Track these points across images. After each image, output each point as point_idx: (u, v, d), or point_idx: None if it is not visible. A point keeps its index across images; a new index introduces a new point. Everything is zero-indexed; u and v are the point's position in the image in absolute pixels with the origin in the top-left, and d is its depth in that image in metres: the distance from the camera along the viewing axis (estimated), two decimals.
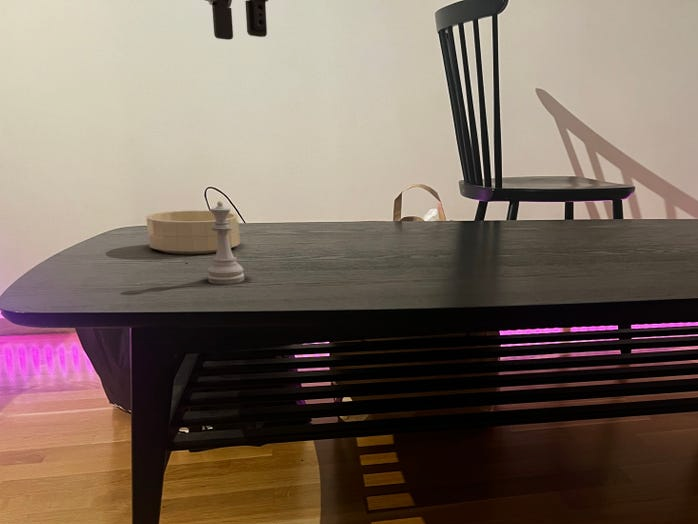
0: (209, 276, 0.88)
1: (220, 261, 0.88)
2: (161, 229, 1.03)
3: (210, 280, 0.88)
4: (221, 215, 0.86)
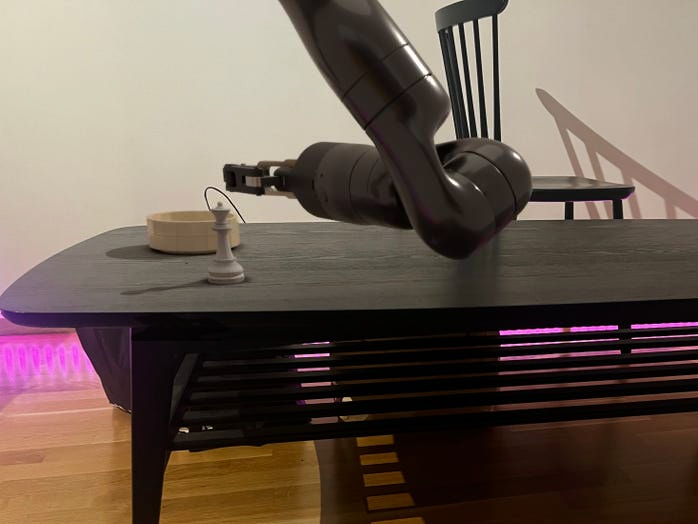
0: (209, 276, 0.88)
1: (220, 261, 0.88)
2: (161, 229, 1.03)
3: (210, 280, 0.88)
4: (221, 215, 0.86)
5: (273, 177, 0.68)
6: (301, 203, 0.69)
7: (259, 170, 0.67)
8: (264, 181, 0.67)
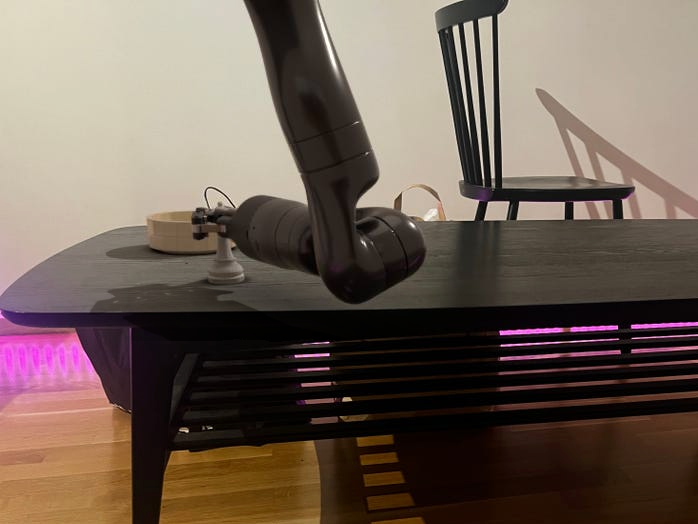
0: (209, 276, 0.88)
1: (220, 261, 0.88)
2: (161, 229, 1.03)
3: (210, 280, 0.88)
4: None
5: (211, 225, 0.79)
6: (239, 248, 0.79)
7: (195, 219, 0.78)
8: (201, 228, 0.79)
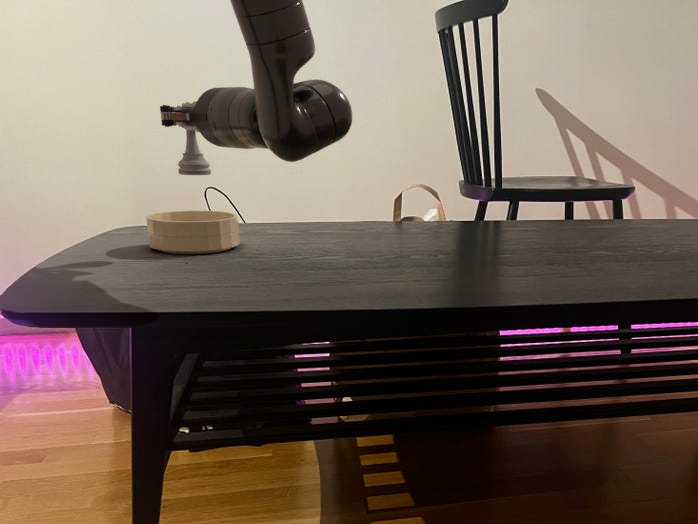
0: (179, 169, 1.01)
1: (189, 155, 1.00)
2: (161, 229, 1.03)
3: (180, 172, 1.01)
4: None
5: (177, 113, 0.92)
6: (201, 133, 0.92)
7: (163, 107, 0.91)
8: (168, 115, 0.91)
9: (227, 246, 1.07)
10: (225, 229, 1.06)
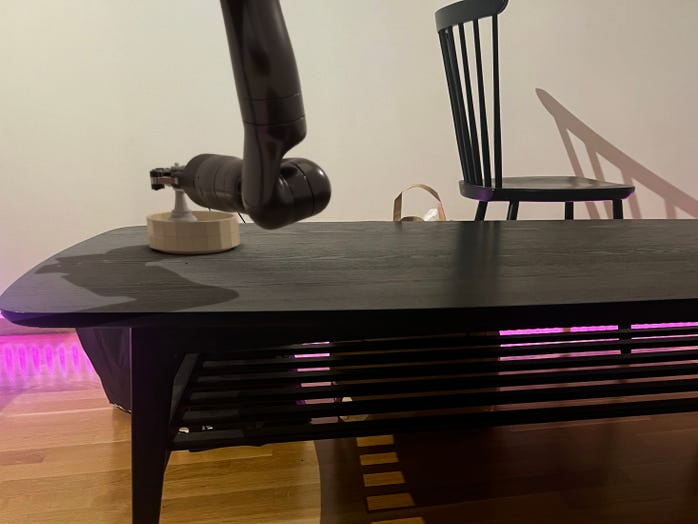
0: None
1: (177, 212, 1.05)
2: (161, 229, 1.03)
3: None
4: None
5: (166, 178, 0.97)
6: (189, 197, 0.97)
7: (153, 172, 0.96)
8: (157, 180, 0.96)
9: (227, 246, 1.07)
10: (225, 229, 1.06)
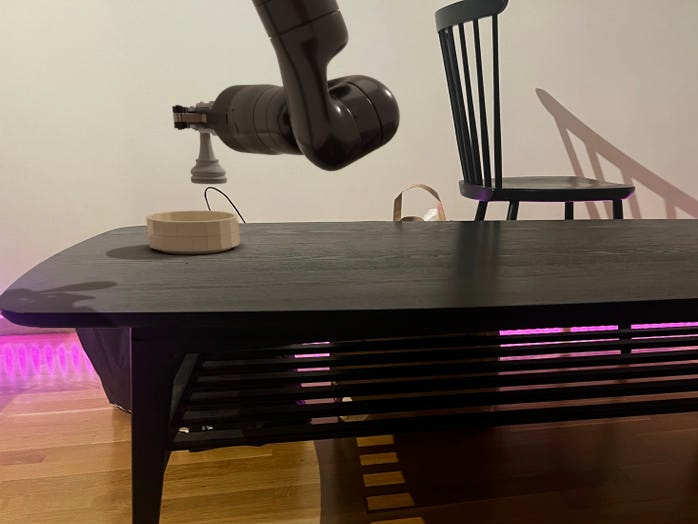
0: (192, 177, 0.90)
1: (203, 161, 0.89)
2: (161, 229, 1.03)
3: (193, 180, 0.89)
4: None
5: (191, 114, 0.80)
6: (220, 137, 0.80)
7: (176, 107, 0.80)
8: (182, 117, 0.80)
9: (227, 246, 1.07)
10: (225, 229, 1.06)
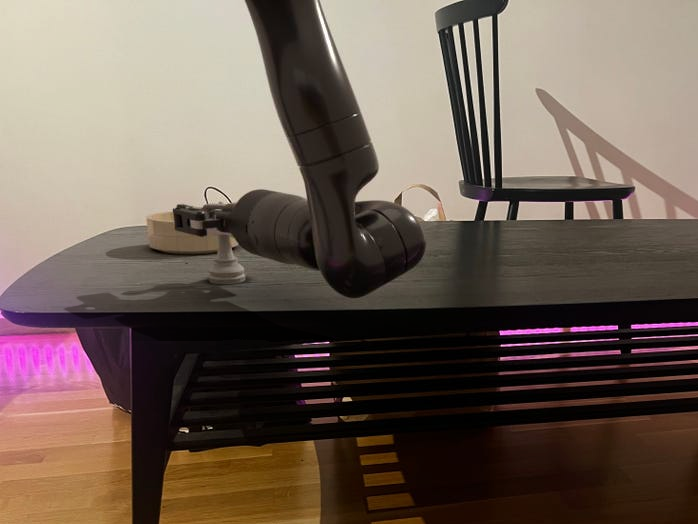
0: (210, 276, 0.88)
1: (221, 261, 0.87)
2: (161, 229, 1.03)
3: (211, 280, 0.88)
4: None
5: (214, 220, 0.78)
6: (239, 243, 0.79)
7: (201, 215, 0.77)
8: (206, 224, 0.77)
9: None
10: None
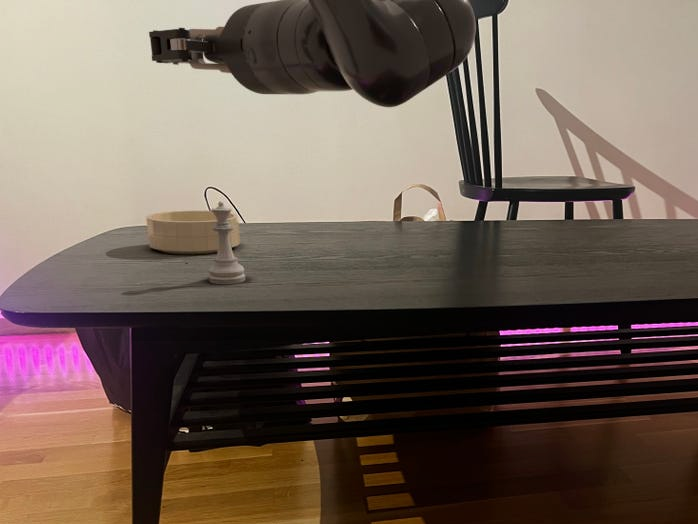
0: (210, 276, 0.88)
1: (221, 261, 0.87)
2: (161, 229, 1.03)
3: (211, 280, 0.88)
4: (222, 215, 0.86)
5: (201, 42, 0.62)
6: (232, 72, 0.62)
7: (184, 31, 0.60)
8: (190, 44, 0.61)
9: None
10: None
